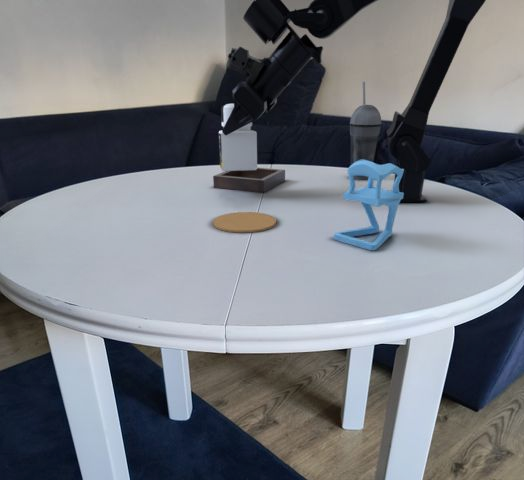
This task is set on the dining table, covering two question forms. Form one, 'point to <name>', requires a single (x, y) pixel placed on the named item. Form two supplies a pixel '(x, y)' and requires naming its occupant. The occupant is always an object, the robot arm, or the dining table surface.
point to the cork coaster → (244, 222)
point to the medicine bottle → (237, 145)
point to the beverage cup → (364, 133)
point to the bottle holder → (250, 179)
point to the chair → (372, 201)
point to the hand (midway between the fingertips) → (228, 130)
